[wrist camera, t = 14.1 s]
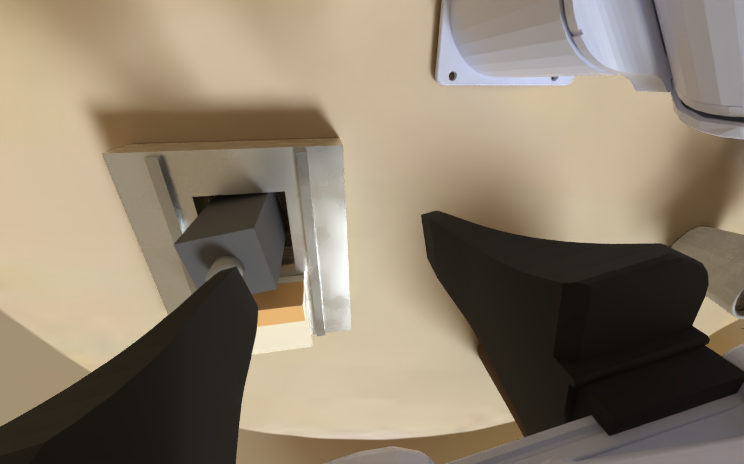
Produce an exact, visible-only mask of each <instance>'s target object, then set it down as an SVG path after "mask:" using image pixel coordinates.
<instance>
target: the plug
mask: <svg viewBox="0 0 744 464" xmlns="http://www.w3.org/2000/svg"><path fill="white" fill-rule="evenodd" d="M286 234H287V225H286V222H285V219H284V216H283V213H282V210H281V207H280V203H279V200H278V197H277V194H276V192H267V193H249V194H232V195H216V196H215V197H214V198H213V199H212V200H211V201H210V203H209V204H208V205H207V206H206V207H205V208H204V209H203V211H202V212H201V213H200V214H199V215H198V216H197V218H196V219H195V220H194V221H193V222H192V223H191V224H190V226H189V227H188V228H187V229H186V230H185V231H184V233H183V234H182V235H181V236H180V237H179V238H178V240H177V241H176V242H175V243H174V244H173V245H174V247H175V249H176V251H177V253H178V254H179V256H180V258H181V260H182V262H183V264H184V265H185V267H186V269H187V271H188V273H189V275H190V277H191V278H192V280H193V282H194V284H195V286H196V288H197V289H198V288H200V287H201V286H202V285H203V284H204V283H205V282H206V281H208V280H209V279H210V278H211V277H212V276H214V275H215V274H216V273H218V272H219V271H221V270H225V269H228V268H232V267H235V266H237V268H238V270H239V272H240V274H241V275H242V277H243V279H244V281H245V283H246V285H247V287H248V288H249V290H250V292H251V294H256V293H260V292H265V291H269V290H274V289H277V285H278V279H279V274H280V268H281V262H282V257H283V251H284V245H285V239H286Z"/></svg>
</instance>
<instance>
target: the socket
mask: <svg viewBox="0 0 744 464" xmlns="http://www.w3.org/2000/svg"><path fill="white" fill-rule="evenodd" d="M102 155H103V158H104V160H105V162H106V165H107V167H108V170H109V172H110V174H111V177H112V179H113V182H114V184H115V187H116V189H117V191H118V194H119V196H120V199H121V201H122V203H123V206H124V208H125V211H126V213H127V216H128V218H129V220H130V223H131V225H132V228H133V230H134V233H135V235H136V237H137V240H138V242H139V245H140V247H141V249H142V252H143V254H144V257H145V259H146V262H147V264H148V266H149V269H150V271H151V274H152V276H153V278H154V281H155V283H156V286H157V288H158V291H159V293H160V295H161V298H162V300H163V303H164V305H165V307H166V310H167V312H168V315H169V314H170V313H171V312H173V311H174V310H175V309H176V308H177V307H178V306H180V305H181V304H182V303H183V302H184V301H185V300H186V299H187V298H188V297H190V296H191V295H192V294H193V293H194V292H195V291H196V290H197V288H196V286H195V284H194V282H193V280H192V278H191V277H190V275H189V273H188V271H187V269H186V267H185V265H184V264H183V262H182V260H181V258H180V256H179V254H178V253H177V251H176V249H175V247H174V245H173V244H174V243H175V242H176V241H177V240H178V238H179V237H180V236H181V235H182V234H183V233H184V231H185V230H186V229H187V228H188V227H189V226H190V224H191V223H192V222H193V221H194V220H195V219H196V218H197V216H198V215H199V214H200V213H201V212H202V211H203V209H204V208H205V207H206V206H207V205H208V204H209V203H210V201H211V197H210V196H214V195H232V194H249V193H267V192H284V191H285V196H286V203H287V210H288V217H289V224H290V231H291V238H292V245H287V246H284V251H283V257H282V262H281V268H280V274H279V277H286V276H296V275H304V277H305V285H306V292H307V300H308V308H309V316H310V324H311V332H312V335H314V334H317V336H322V335H325V333H329V332H337V331H344V330H351V316H350V294H349V271H348V248H347V225H346V202H345V179H344V156H343V144H342V142H341V140H340V138H317V139H283V140H249V141H216V142H182V143H148V144H129V145H126V146H123V147H120V148H117V149H114V150H111V151H108V152H105V153H102Z"/></svg>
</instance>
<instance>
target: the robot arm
mask: <svg viewBox="0 0 744 464" xmlns="http://www.w3.org/2000/svg"><path fill="white" fill-rule="evenodd" d="M451 72H453V73H454V78H453V80H452V81H450V79H449V74H450V73H451ZM596 75H621V76H624V77H626V78H627V79H629V80H630V81H631V83H632V84H633V86H634V88H635V90H636V91H644V92H671V91H672V92H671V97H672V102H673V106H674V111H675V113H676V114H677V116H678V117H679V119H680V120H681V121H682V122H684V123H685V124H686V125H688V126H689V127H691V128H693V129H695V130H698V131H700V132H702V133H706V134H710V135H714V136H718V137H725V138H734V139H744V0H442V2H441V13H440V25H439V36H438V48H437V60H436V71H435V80H436V82H437V83H438V84H439V85H569V84H570V83H571V82H572V81H573V80H574V77H575V76H596ZM551 77H554V78H553V80H551ZM421 217H422V224H423V231H424V238H425V245H426V252H427V258H428V260H429V262H430V264H431V266H432V268H433V270H434V272H435V274H436V276H437V278H438V279H439V281H440V282H441V284H442V285H443V287H444V288H445V290H446V291H447V292H448V294H449V295H450V297H451V298H452V300H453V301H454V302H455V304H456V305H457V307H458V308H459V310H460V311H461V312H462V314H463V315H464V317H465V318H466V319H467V321H468V323H469V324H470V326H471V327H472V329H473V330H474V332H475V334H476V336H477V338H478V339H479V341H480V343H481V345H482V347H483V348H484V350H485V352H486V354H487V356H488V358H489V360H490V362H491V363H492V365H493V367H494V369H495V371H496V373H497V375H498V377H499V379H500V380H501V382H502V384H503V386H504V388H505V390H506V392H507V394H508V396H509V398H510V400H511V402H512V404H513V406H514V408H515V410H516V412H517V414H518V416H519V419H520V421H521V423H522V425H523V427H524V429H525V431H526V433H527V435H528V436H527V437H524V438H521V439H518V440H515V441H512V442H509V443H506V444H504V445H500V446H497V447H494V448H491V449H488V450H485V451H482V452H479V453H476V454H473V455H470V456H467V457H464V458H461V459H458V460H455V461H452V462H449V463H446V464H744V344H742V345H739V346H736V347H734V348H732V349H730V350H729V351H728V352H726V353H725V354H724V355H723V356H720V355H719V354H717V353H716V352H714V351H713V350H711V349H709V348H708V347H706V346H705V345H706V344H708V342H709V340H710V339H709V338H708V336H707V335H706V334H704V333H703V332H701V331H699V330H698V329H696V328H695V327H693V326H692V325H693V322H694V320H695V318H696V316H697V313H698V311H699V309H700V307H701V304H702V302H703V300H704V298H705V295H706V292H707V289H708V285H709V281H708V272H707V270H706V268H705V266H704V265H703V263H701V262H699V261H697V260H695V259H693V258H691V257H689V256H687V255H685V254H683V253H681V252H679V251H677V250H674V249H672V248H670V247H668V246H666V245H663V244H595V243H576V242H563V241H555V240H546V239H539V238H532V237H526V236H521V235H516V234H511V233H507V232H502V231H499V230H495V229H491V228H488V227H484V226H481V225H478V224H475V223H472V222H469V221H466V220H463V219H460V218H457V217H455V216H452V215H449V214H446V213H443V212H440V211H433V212H430V213H426V214H423V215H421ZM257 323H258V305H257V303H256V301H255V300H254V298H253V296H252V294H251V292H250V290H249V288H248V287H247V285H246V283H245V281H244V279H243V277H242V275H241V274H240V272H239V270H238V268H237V266H235V267H232V268H228V269H225V270H221V271H219V272H218V273H216V274H215V275H214V276H212V277H211V278H210V279H209V280H208V281H206V282H205V283H204V284H203V285H202V286H201V287H200V288H198V289H197V290H196V291H195V292H194V293H193V294H192V295H191V296H190V297H188V298H187V299H186V300H185V301H184V302H183V303H182V304H181V305H180V306H178V307H177V308H176V309H175V310H174V311H173V312H171V313H170V314H169V315H168V316H167V317H166V318H164V319H163V320H162V321H161V322H160V323H158V324H157V325H156V326H155V327H154V328H153V329H151V330H150V331H149V332H148V333H146V334H145V335H144V336H142V337H141V338H140V339H139V340H137V341H136V342H135V343H133V344H132V345H131V346H129V347H128V348H126V349H125V350H124V351H122V352H121V353H120V354H118V355H117V356H115V357H114V358H113V359H111V360H110V361H108V362H107V363H105V364H104V365H102V366H101V367H99V368H98V369H96V370H95V371H93V372H91V373H90V374H88V375H87V376H85V377H84V378H82V379H81V380H79V381H78V382H76V383H75V384H73V385H72V386H70V387H69V388H67V389H65V390H63V391H62V392H60V393H59V394H57V395H55V396H53V397H52V398H50V399H48V400H47V401H45V402H43V403H42V404H40V405H38V406H37V407H35V408H33V409H32V410H29V411H28V412H26V413H24V414H23V415H21V416H19V417H17V418H15V419H14V420H12V421H10V422H8V423H6V424H5V425H3V426H1V427H0V464H236V453H237V452H236V451H237V441H238V429H239V421H240V412H241V403H242V397H243V391H244V386H245V382H246V377H247V373H248V369H249V364H250V360H251V355H252V351H253V346H254V342H255V337H256V332H257ZM323 464H435V463H434V462H433V461H432V460H431V459H430V458H429V457H428V456H427V455H426V454H424V453H422V452H420V451H417V450H411V449H405V448H399V447H394V446H391V447H385V448H379V449H374V450H368V451H362V452H357V453H354V454H351V455H348V456H345V457H342V458H339V459H336V460H332V461H329V462H326V463H323Z"/></svg>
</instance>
